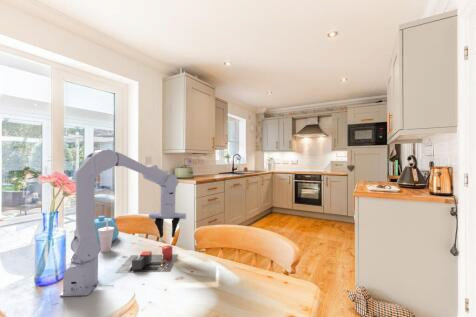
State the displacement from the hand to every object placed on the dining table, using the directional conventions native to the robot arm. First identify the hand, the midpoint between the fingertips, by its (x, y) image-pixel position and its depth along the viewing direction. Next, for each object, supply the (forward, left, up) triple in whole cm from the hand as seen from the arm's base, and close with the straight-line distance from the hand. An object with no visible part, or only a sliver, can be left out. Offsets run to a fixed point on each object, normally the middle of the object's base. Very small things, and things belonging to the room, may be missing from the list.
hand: (167, 236), depth 93 cm
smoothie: (+11, +30, -10) cm, 33 cm away
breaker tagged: (-6, +6, -8) cm, 12 cm away
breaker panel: (-5, +6, -9) cm, 12 cm away
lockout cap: (0, 0, -8) cm, 8 cm away
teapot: (+23, +40, -10) cm, 47 cm away
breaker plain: (-10, +8, -8) cm, 15 cm away
